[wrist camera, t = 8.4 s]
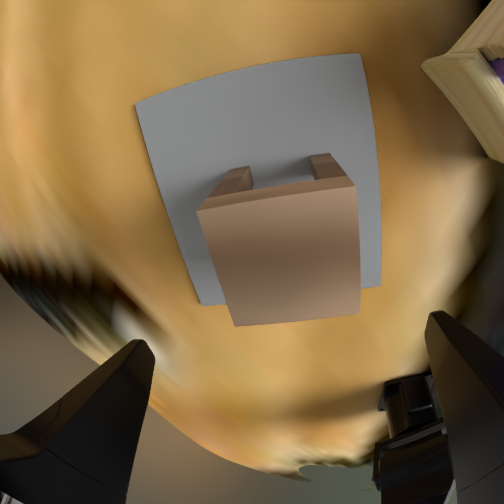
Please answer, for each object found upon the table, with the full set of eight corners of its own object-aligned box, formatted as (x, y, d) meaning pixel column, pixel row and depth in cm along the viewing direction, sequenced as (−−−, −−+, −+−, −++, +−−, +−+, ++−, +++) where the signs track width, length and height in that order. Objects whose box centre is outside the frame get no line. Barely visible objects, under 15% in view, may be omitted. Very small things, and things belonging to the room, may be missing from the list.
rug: (379, 282, 20) (380, 285, 20) (203, 302, 23) (201, 305, 22) (358, 54, 13) (360, 53, 12) (137, 103, 15) (134, 103, 15)
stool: (339, 242, 18) (360, 313, 12) (251, 254, 20) (234, 326, 13) (329, 152, 16) (356, 186, 9) (230, 169, 17) (196, 211, 11)
